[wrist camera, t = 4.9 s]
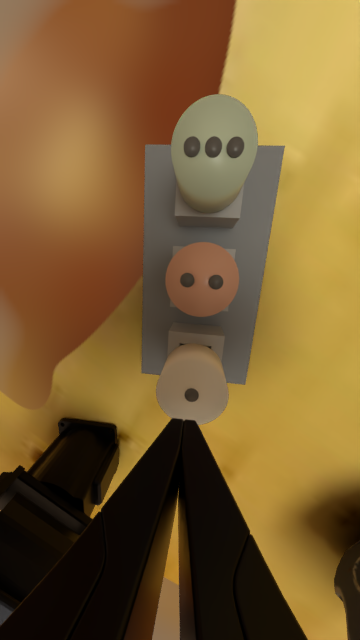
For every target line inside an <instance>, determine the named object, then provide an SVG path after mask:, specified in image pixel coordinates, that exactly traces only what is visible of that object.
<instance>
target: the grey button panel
mask: <svg viewBox="0 0 360 640" xmlns="http://www.w3.org/2000/svg"><path fill="white" fill-rule="evenodd" d="M284 147H285V146H258V147H257V153H256V157H255V160H254V163H253V165H252V168H251V170H250V172H249V174H248V176H247V178H246V180H245V182H244V184H243V186H242V188H241V190H240V192H239V194H238V196H237V197H236V199H235V200H234V201H233V202H232V203H231V204H230V205H229V206H227V207H226V208H224V209H222V210H220V211H218V212H213V213H203V212H199V211H197V210H195V209H193V208H191V207H190V206H189V205H188V204H187V203H186V202H185V200H184V199H183V197H182V196H181V193H180V191H179V187H178V183H177V179H176V175H175V171H174V167H173V163H172V157H171V145H145V191H144V192H145V195H144V254H143V255H144V256H143V314H142V373H146V374H155V375H161V372H162V370H163V367H164V365H165V362H166V360H167V358H168V356H169V354H170V353H171V352H172V351H173V350H174V349H176V348H177V347H179V346H181V345H184V344H190V343H196V344H201V345H204V346H207V347H208V348H210V349H211V350H213V351H214V352H215V353H216V354H217V355H218V357H219V358H220V360H221V363H222V367H223V371H224V375H225V379H226V383H235V384H243V385H245V383H246V377H247V371H248V365H249V359H250V353H251V347H252V341H253V335H254V329H255V323H256V317H257V310H258V304H259V298H260V292H261V286H262V280H263V274H264V268H265V262H266V256H267V250H268V244H269V238H270V232H271V226H272V220H273V214H274V208H275V202H276V196H277V189H278V183H279V177H280V171H281V165H282V159H283V153H284ZM197 242H209V243H213V244H216V245H219V246H220V247H222V248H224V249H225V250H226V251H227V252H228V253H229V254H230V255H231V256H232V257H233V259H234V261H235V262H236V265H237V268H238V272H239V285H238V290H237V293H236V295H235V297H234V299H233V300H232V302H231V303H230V304H229V305H228V306H227V307H226V308H225V309H223V310H222V311H221V312H219V313H217V314H214V315H211V316H206V317H197V316H192V315H189V314H186V313H184V312H183V311H181V310H180V309H178V308H177V307H176V306H175V305H174V303H173V302H172V301H171V299H170V297H169V295H168V293H167V289H166V284H165V278H166V271H167V268H168V265H169V263H170V261H171V260H172V258H173V257H174V255H175V254H176V253H177V252H178V251H180V250H181V249H182V248H184V247H185V246H188V245H190V244H193V243H197Z"/></svg>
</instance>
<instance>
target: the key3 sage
mask: <svg viewBox="0 0 360 640" xmlns="http://www.w3.org/2000/svg"><path fill="white" fill-rule="evenodd" d="M257 147H258V134H257V128H256V124H255V121H254V119H253V116H252V115H251V113H250V111H249V110H248V109H247V108H246V106H245V105H244V104H243V103H241V102H240V101H239V100H237V99H235V98H233V97H231V96H227V95H221V94H216V95H210V96H206V97H204V98H202V99H199V100H198V101H196V102H195V103H193V104H192V105H191V106H190V107H189V108H188V109H187V110H186V111H185V112H184V113H183V115H182V116H181V118H180V119H179V121H178V123H177V125H176V127H175V131H174V133H173V138H172V144H171V157H172V163H173V167H174V171H175V175H176V179H177V183H178V187H179V191H180V193H181V196H182V197H183V199H184V200H185V202H186V203H187V204H188V205H189V206H190V207H191V208H193V209H195V210H197V211H199V212H203V213H213V212H218V211H220V210H222V209H224V208H226V207H227V206H229V205H230V204H231V203H232V202H233V201H234V200H235V199H236V197H237V196H238V194H239V192H240V190H241V188H242V186H243V184H244V182H245V180H246V178H247V176H248V174H249V172H250V170H251V168H252V165H253V163H254V160H255V157H256V153H257Z"/></svg>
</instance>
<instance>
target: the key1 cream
mask: <svg viewBox="0 0 360 640" xmlns="http://www.w3.org/2000/svg"><path fill="white" fill-rule="evenodd" d="M156 396H157V400H158V403H159V405H160V407H161V408H162V410H163V411H164V412H165V413H166V414H167V415H168V416H169V417H171V418H179V419H183V420H185V419H188V420H195V421H196V422H197V424H198V425H201V424H205V423H208V422H211V421H213V420H214V419H216V418H217V417H218V416H219V415H220V414H221V413H222V412H223V411H224V409H225V408H226V405H227V402H228V396H229V394H228V387H227V383H226V379H225V375H224V371H223V367H222V363H221V360H220V358H219V357H218V355H217V354H216V353H215V352H214V351H213V350H211V349H210V348H208V347H207V346H204V345H201V344H196V343H190V344H184V345H181V346H179V347H177V348H176V349H174V350H173V351H172V352H171V353H170V354H169V356H168V358H167V360H166V362H165V365H164V367H163V370H162V372H161V375H160V377H159V380H158V383H157V387H156Z"/></svg>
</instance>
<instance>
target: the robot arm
mask: <svg viewBox="0 0 360 640" xmlns="http://www.w3.org/2000/svg"><path fill="white" fill-rule="evenodd" d="M58 427H59V436H58V437H57V438H56V439H55V440H54V441H53V443H52V444H51V445H50V446H49V447H48V448H47V449H46V451H45V452H44V453H43V454H42V455H41V456H40V457H39V459H38V460H37V461H36V462H35V463H34V464H33V465H32V467H31V468H30V469H29V470H28V471H27V472H26V471H25V470H24V469H25V468H23V467H22V466H21V465H19V466H18V467H17V468H16V469H15V470H14V472H13V473H12V472H3V473H2V474H1V475H0V510H1V511H0V640H152V635H153V631H154V625H155V619H156V614H157V609H158V603H159V598H160V592H161V587H162V582H163V576H164V571H165V565H166V560H167V554H168V549H169V543H170V538H171V533H172V527H173V522H174V516H175V511H176V505H177V499H178V533H179V608H180V640H308V639H307V637H306V636H305V634H304V632H303V630H302V629H301V627H300V625H299V623H298V621H297V620H296V618H295V616H294V614H293V613H292V611H291V609H290V607H289V605H288V604H287V602H286V600H285V598H284V597H283V595H282V593H281V591H280V589H279V587H278V585H277V583H276V581H275V579H274V577H273V575H272V573H271V571H270V570H269V568H268V566H267V564H266V562H265V560H264V558H263V556H262V554H261V552H260V550H259V548H258V546H257V544H256V542H255V540H254V538H253V536H252V535H251V534H250V530H249V528H248V526H247V524H246V522H245V520H244V518H243V516H242V514H241V511H240V509H239V507H238V505H237V503H236V501H235V499H234V497H233V495H232V493H231V491H230V489H229V487H228V485H227V483H226V481H225V479H224V477H223V475H222V473H221V471H220V469H219V467H218V465H217V463H216V461H215V459H214V456H213V454H212V452H211V450H210V448H209V446H208V444H207V442H206V440H205V438H204V436H203V434H202V432H201V430H200V428H199V426H198V424H197V422H196V421H195V420H188V419H185V420H183V419H179V418H172V419H171V420H170V422H169V423H168V424H167V425H166V427H165V428H164V429H163V431H162V432H161V433H160V434H159V436H158V437H157V438H156V439H155V441H154V442H153V443H152V445H151V446H150V447H149V448H148V450H147V451H146V452H145V454H144V455H143V456H142V457H141V459H140V460H139V461H138V462H137V464H136V465H135V466H134V468H133V469H132V470H131V471H130V473H129V474H128V475H127V476H126V478H125V479H124V480H123V482H122V483H121V484H120V485H119V487H118V488H117V489H116V490H115V492H114V493H113V494H112V496H111V497H110V498H109V499H108V501H107V502H106V503H105V505H104V506H103V507H102V509H101V512H98V513H97V514H96V516H95V517H94V518H93V519H92V518H90V515H91V513H92V511H93V509H94V507H95V505H100V504H101V503H102V501H103V499H104V497H105V494H106V492H107V490H108V488H109V485H110V483H111V481H112V478H113V476H114V474H115V473H116V471H117V467H118V464H119V447H118V444H117V432H116V427H115V426H114V425H110V424H102V423H95V422H88V421H81V420H73V419H66V418H63V419H61V420H60V421H59V423H58ZM178 490H179V494H178Z"/></svg>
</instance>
